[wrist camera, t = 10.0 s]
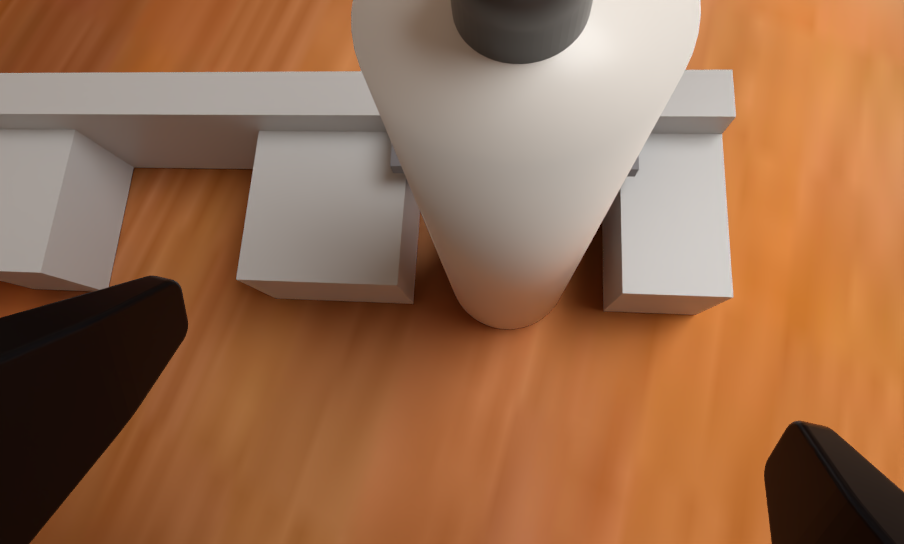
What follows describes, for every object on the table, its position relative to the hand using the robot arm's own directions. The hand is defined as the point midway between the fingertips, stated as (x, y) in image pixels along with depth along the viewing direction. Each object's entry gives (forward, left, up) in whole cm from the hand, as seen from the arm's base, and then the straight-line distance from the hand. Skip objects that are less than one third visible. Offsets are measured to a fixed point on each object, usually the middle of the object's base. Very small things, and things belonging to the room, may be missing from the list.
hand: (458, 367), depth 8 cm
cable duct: (+8, -2, -10) cm, 13 cm away
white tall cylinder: (+2, -4, -10) cm, 11 cm away
